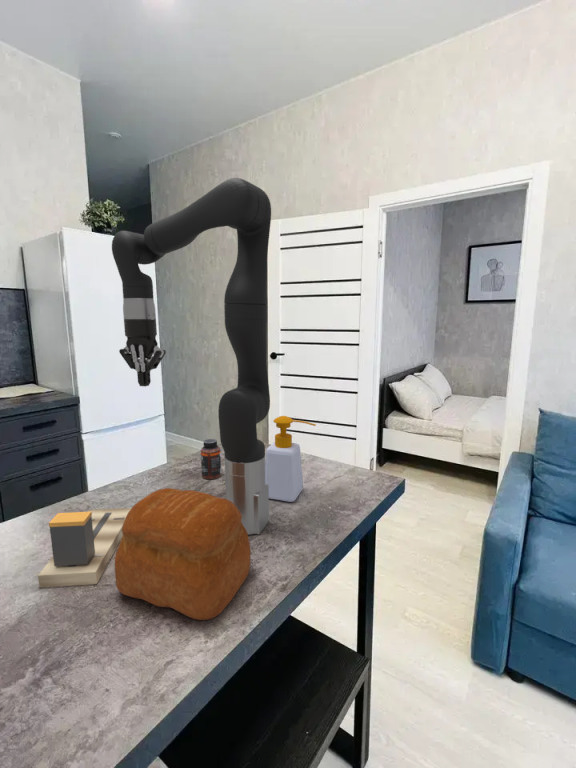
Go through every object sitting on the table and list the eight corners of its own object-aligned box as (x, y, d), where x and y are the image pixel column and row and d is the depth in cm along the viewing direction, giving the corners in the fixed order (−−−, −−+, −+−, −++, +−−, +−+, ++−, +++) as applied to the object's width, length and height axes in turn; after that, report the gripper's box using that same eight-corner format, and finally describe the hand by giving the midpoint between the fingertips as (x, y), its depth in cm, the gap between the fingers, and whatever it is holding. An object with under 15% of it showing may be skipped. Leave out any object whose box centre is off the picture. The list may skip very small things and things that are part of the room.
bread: (168, 545, 85) (164, 472, 82) (258, 568, 77) (257, 488, 74) (104, 599, 69) (96, 511, 65) (210, 636, 61) (206, 537, 58)
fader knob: (62, 554, 76) (58, 513, 75) (95, 552, 77) (91, 511, 75) (53, 566, 73) (48, 523, 71) (88, 564, 73) (83, 521, 72)
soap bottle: (310, 507, 101) (311, 424, 97) (260, 498, 105) (259, 419, 101) (319, 491, 110) (320, 414, 106) (273, 484, 114) (273, 410, 110)
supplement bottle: (225, 474, 121) (224, 439, 119) (214, 481, 116) (212, 445, 114) (209, 470, 124) (208, 436, 122) (197, 477, 119) (196, 442, 117)
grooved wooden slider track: (90, 519, 95) (89, 509, 94) (133, 517, 96) (132, 507, 95) (39, 587, 71) (37, 575, 71) (96, 584, 72) (95, 571, 72)
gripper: (107, 317, 96) (113, 386, 99) (152, 317, 92) (156, 390, 95) (129, 317, 103) (133, 382, 106) (171, 317, 99) (175, 384, 102)
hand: (144, 385), depth 100 cm, fingers closed
